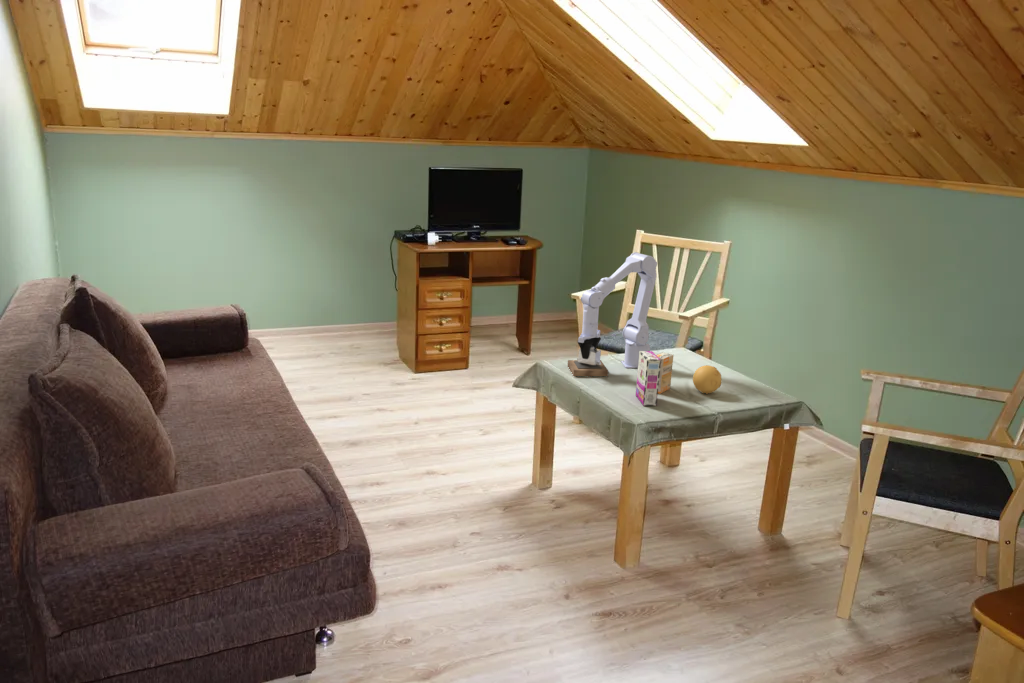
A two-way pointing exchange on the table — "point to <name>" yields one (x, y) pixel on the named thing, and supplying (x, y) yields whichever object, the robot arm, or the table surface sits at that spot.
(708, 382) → the stress ball
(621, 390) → the table surface
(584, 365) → the stand
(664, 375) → the supplement box
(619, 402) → the table surface
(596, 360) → the housing
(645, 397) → the candy bar box
